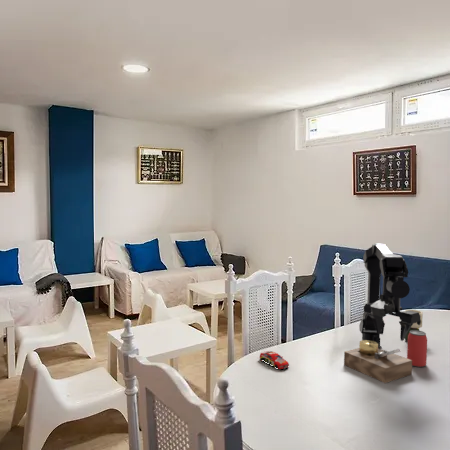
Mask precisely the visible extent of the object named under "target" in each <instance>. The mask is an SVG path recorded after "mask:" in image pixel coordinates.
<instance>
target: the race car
mask: <svg viewBox="0 0 450 450" xmlns="http://www.w3.org/2000/svg"><path fill="white" fill-rule="evenodd" d="M283 357H284V356H282V355H280V354H279V353H277V352H275V351H270V350H269V351H261V352H260V353H259V360H260V359H261V360H264V361H265V362H267V363H269V364H271V365H273V366H274V367H276V368H278V369H283V370H287V369H289V367H290V364H289V362H288V361H287V359H284V358H283ZM261 360H260V361H261ZM288 366H289V367H288ZM274 367H273V368H274ZM286 368H287V369H286Z"/></svg>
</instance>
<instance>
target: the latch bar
mask: <svg viewBox="0 0 450 450" xmlns="http://www.w3.org/2000/svg"><path fill="white" fill-rule="evenodd" d="M400 352H401V349H400V348H397V349H393V350H390V351H388V352H386V353H385V352H380V353H378V354H379V358H380V357H384V356H387V355H391V354H397V353H400Z"/></svg>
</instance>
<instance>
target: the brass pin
mask: <svg viewBox="0 0 450 450" xmlns="http://www.w3.org/2000/svg"><path fill="white" fill-rule="evenodd" d="M359 345H360V346H359V347H358V348H359V352H360V353H361V354H364V355H368V356H374V355H375V353H378V343H377V342H374V341H370V340H362V339H361V340H360V341H359Z"/></svg>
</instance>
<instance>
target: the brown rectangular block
mask: <svg viewBox="0 0 450 450" xmlns="http://www.w3.org/2000/svg"><path fill="white" fill-rule="evenodd" d="M380 352H385V353H386V352H389V351H388V350H384V349H382V348H380V349H379V348H378V353H380ZM378 353H375V355H374V356H368V355H364V354H361V353H360V352H359V347H357V348H353V349H349V350H346V351H344V356H343V365H344V366H345V367H348V368H350V369H353V370H355V371H357V372H359V373H362V374H364V375H365V376H368V377H371V378H373V379H375V380H378V381H380V382H383V383H384V384H386V383H389V382H393V381H396V380H398V379H401V378H402V379H403V378H405V377H409V376H411V375H413V373H412V371H413V366H412V360H410V359H407V357H403V356H401V355H398V354H397V353H394V354H391V355H387V356H384V357H380V358H379V354H378Z"/></svg>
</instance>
